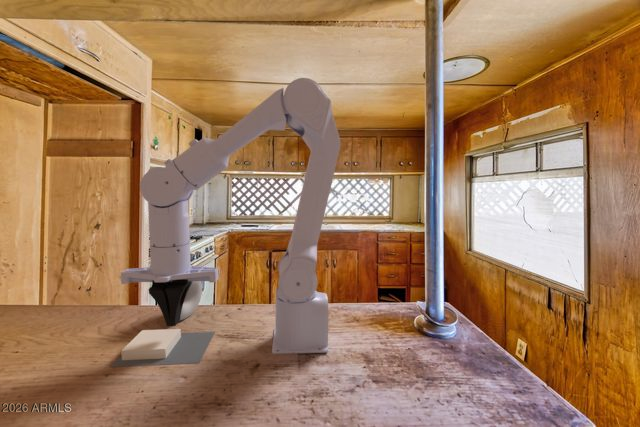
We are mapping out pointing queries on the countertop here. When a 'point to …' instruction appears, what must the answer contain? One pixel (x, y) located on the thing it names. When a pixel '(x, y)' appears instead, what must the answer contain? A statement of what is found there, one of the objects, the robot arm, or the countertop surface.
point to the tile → (151, 344)
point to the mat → (176, 352)
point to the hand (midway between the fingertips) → (173, 323)
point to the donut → (191, 299)
